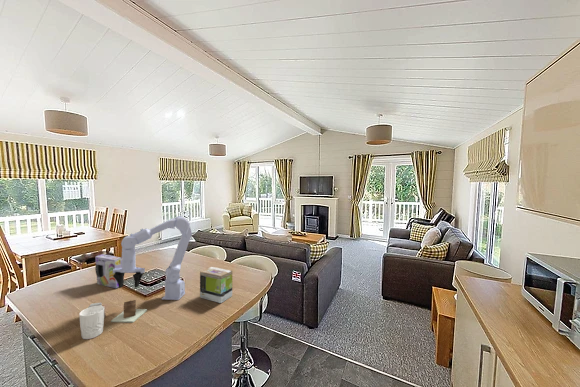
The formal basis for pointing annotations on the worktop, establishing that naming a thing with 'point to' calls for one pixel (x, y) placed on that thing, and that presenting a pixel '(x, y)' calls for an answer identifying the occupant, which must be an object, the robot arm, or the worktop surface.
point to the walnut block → (129, 308)
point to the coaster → (129, 319)
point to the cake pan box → (107, 269)
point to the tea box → (216, 284)
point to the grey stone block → (95, 304)
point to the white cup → (91, 321)
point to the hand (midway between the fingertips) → (129, 286)
